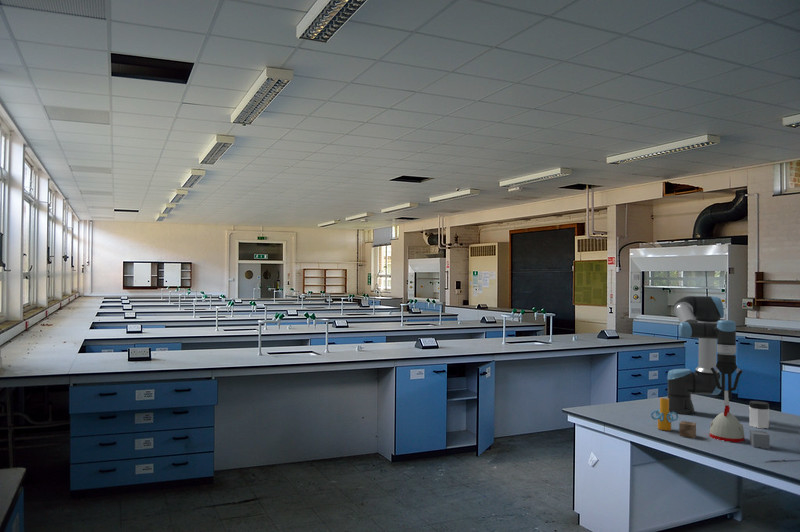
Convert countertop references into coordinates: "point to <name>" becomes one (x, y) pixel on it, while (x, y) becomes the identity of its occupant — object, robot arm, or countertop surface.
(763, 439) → the slate block
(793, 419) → the countertop surface
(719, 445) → the countertop surface
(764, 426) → the jar
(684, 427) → the walnut block
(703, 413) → the countertop surface
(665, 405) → the yellow column with loops
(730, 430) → the kitchen timer
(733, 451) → the countertop surface
